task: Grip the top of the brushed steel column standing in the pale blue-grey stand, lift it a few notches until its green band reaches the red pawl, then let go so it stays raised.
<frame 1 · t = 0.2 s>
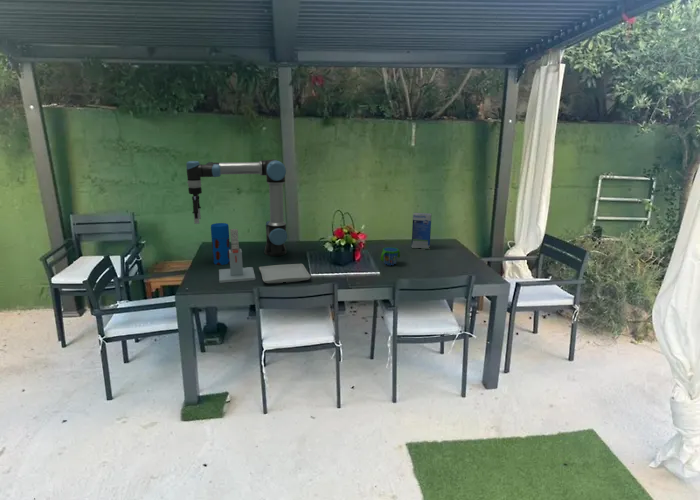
hand: (197, 221, 274), 28 cm above the table, tool pointing down, fingers open, 13 cm apart
snack cup: (390, 264, 287), on the table
thermos: (222, 262, 286), on the table
column: (235, 251, 257), point 15 cm above the table, slide at 0.0 cm
stand: (236, 275, 261), on the table
string lights box: (420, 248, 325), on the table
square plate: (284, 277, 262), on the table
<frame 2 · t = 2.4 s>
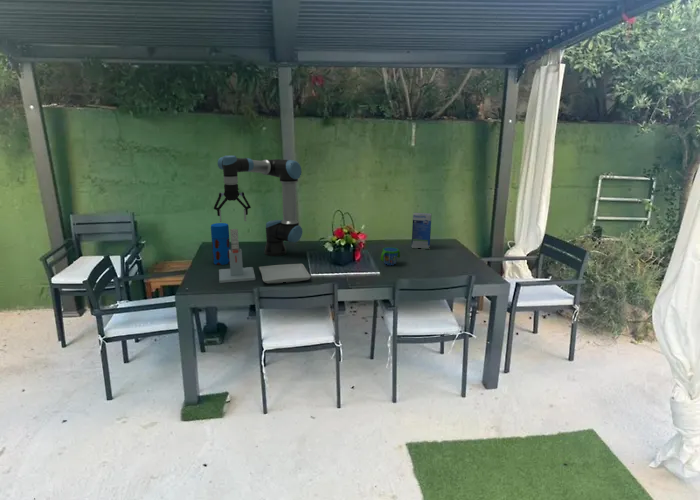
hand: (233, 221, 252), 33 cm above the table, tool pointing down, fingers open, 13 cm apart
nothing on the table moved.
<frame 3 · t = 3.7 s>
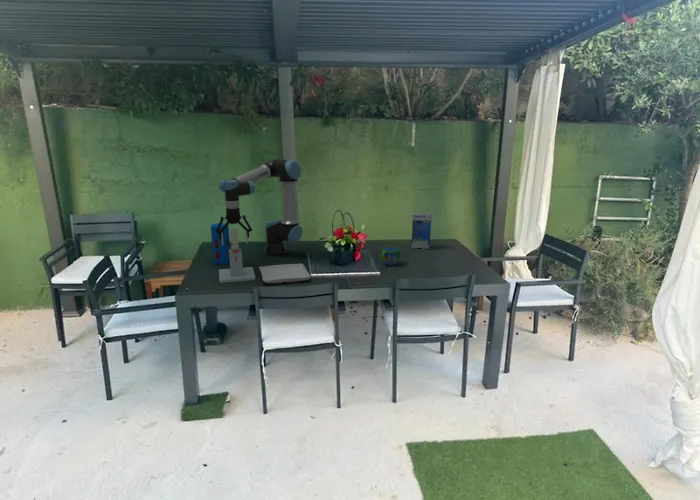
hand: (234, 243, 256), 20 cm above the table, tool pointing down, fingers open, 13 cm apart
nothing on the table moved.
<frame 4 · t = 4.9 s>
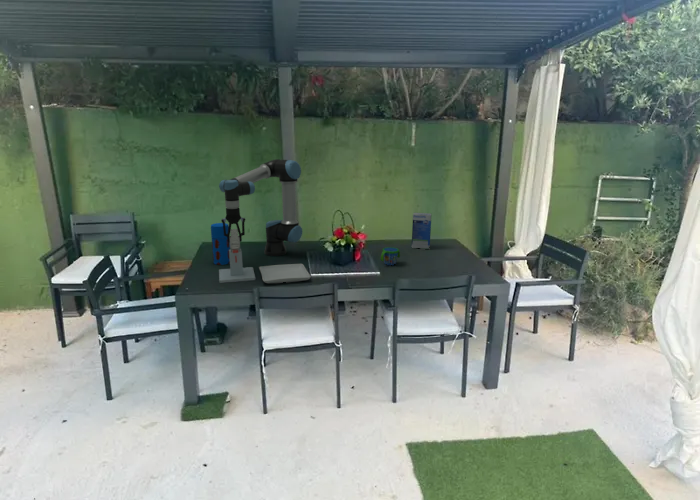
hand: (235, 247, 257), 18 cm above the table, tool pointing down, fingers closed on column, 4 cm apart
column: (235, 251, 257), point 15 cm above the table, slide at 0.0 cm, touching gripper
everything else where it was.
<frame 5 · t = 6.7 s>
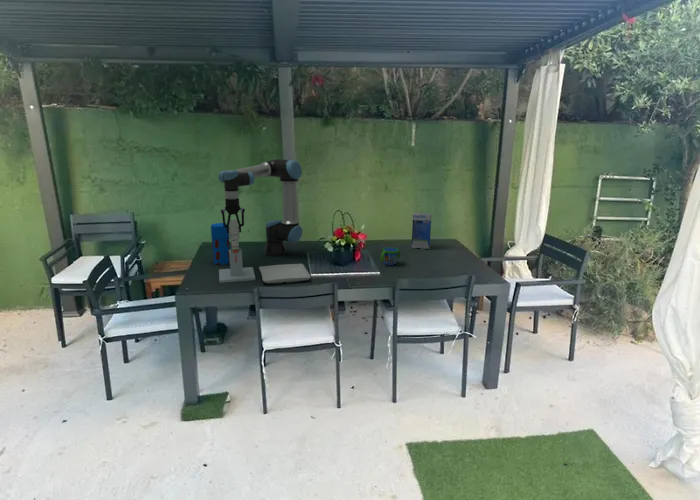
hand: (234, 238, 255), 23 cm above the table, tool pointing down, fingers closed on column, 4 cm apart
column: (234, 242, 256), point 20 cm above the table, slide at 5.5 cm, touching gripper
everything else where it was.
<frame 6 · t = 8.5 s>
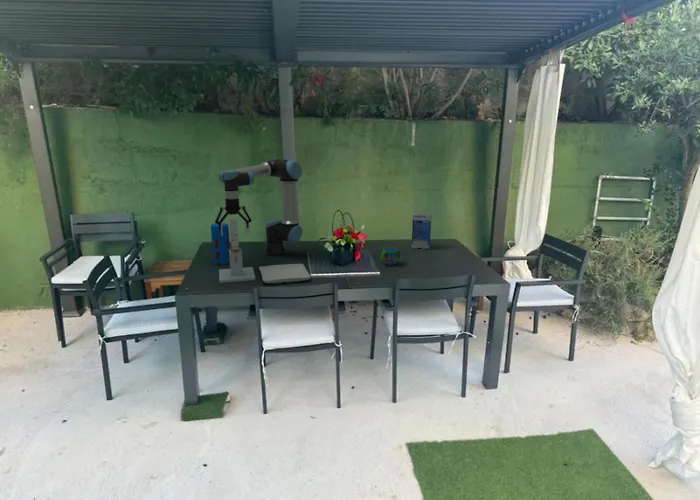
hand: (234, 234, 254), 25 cm above the table, tool pointing down, fingers open, 13 cm apart
column: (234, 242, 256), point 20 cm above the table, slide at 5.5 cm
everything else where it was.
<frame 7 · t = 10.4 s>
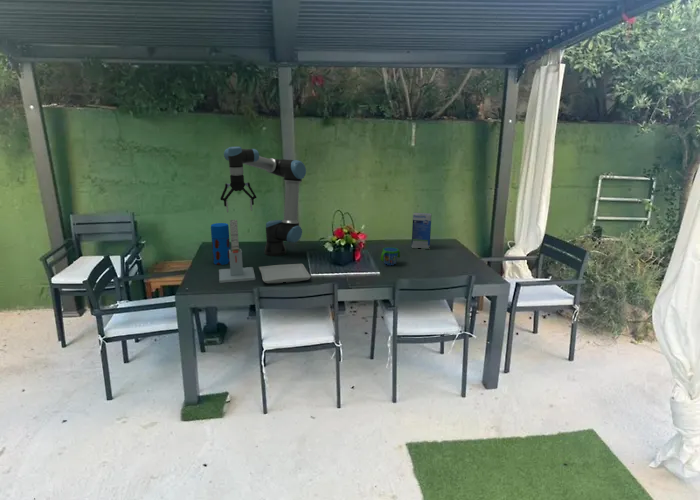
hand: (239, 211, 257), 38 cm above the table, tool pointing down, fingers open, 13 cm apart
nothing on the table moved.
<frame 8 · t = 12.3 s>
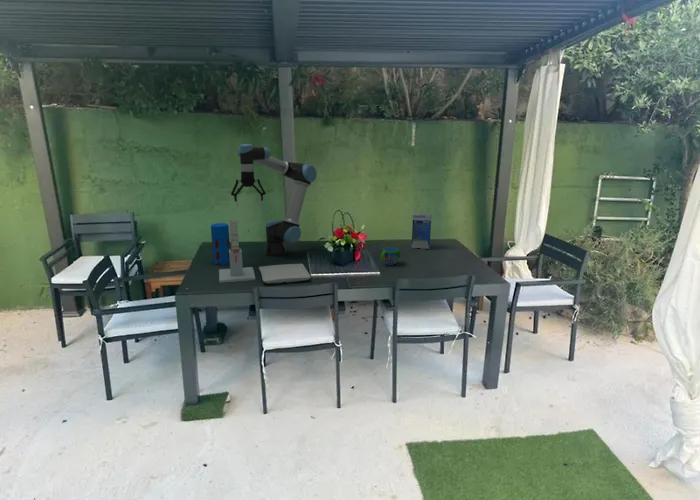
hand: (249, 206, 266), 39 cm above the table, tool pointing down, fingers open, 13 cm apart
nothing on the table moved.
at the end: column slide at 5.5 cm; the gripper is holding nothing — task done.
